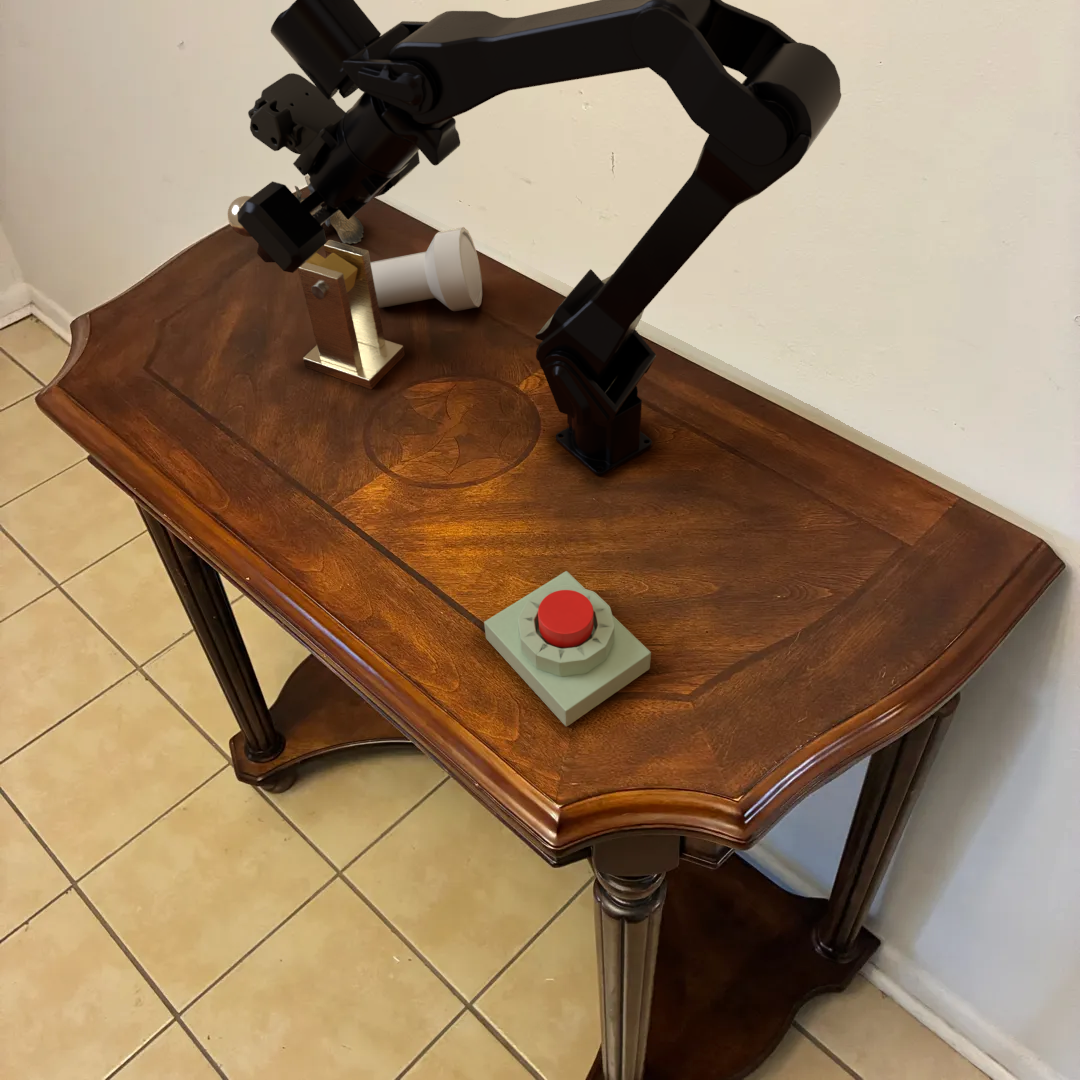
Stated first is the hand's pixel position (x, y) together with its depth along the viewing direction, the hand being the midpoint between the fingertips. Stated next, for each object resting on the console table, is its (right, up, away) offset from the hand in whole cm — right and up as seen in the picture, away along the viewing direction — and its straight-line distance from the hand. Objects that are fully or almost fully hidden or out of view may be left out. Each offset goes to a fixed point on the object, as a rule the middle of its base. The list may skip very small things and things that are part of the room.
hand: (293, 231), depth 90 cm
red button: (+24, -34, -18) cm, 46 cm away
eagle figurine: (-2, +8, +25) cm, 26 cm away
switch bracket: (+4, -10, +9) cm, 14 cm away
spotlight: (+11, -3, +15) cm, 19 cm away
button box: (+25, -37, -15) cm, 47 cm away
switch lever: (-1, -2, +3) cm, 4 cm away
